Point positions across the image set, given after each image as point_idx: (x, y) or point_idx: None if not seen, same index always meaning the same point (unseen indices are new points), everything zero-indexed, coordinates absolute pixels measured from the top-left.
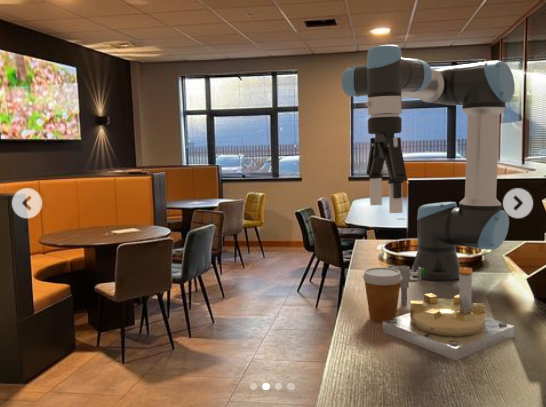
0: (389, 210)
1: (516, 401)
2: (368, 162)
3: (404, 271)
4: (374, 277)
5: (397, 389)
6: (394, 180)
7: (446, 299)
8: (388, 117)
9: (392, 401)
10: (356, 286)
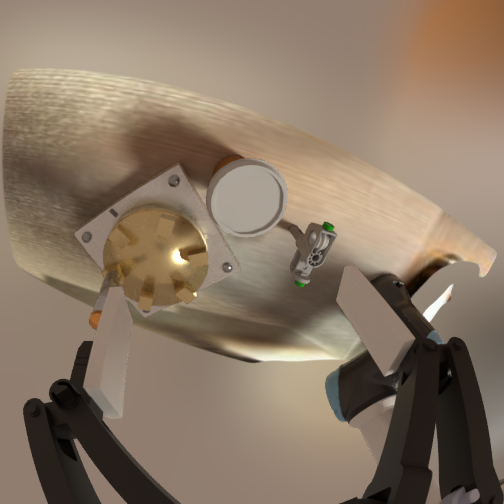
0: (119, 292)
1: (12, 248)
2: (474, 388)
3: (305, 254)
4: (221, 176)
5: (20, 146)
6: (39, 402)
7: (200, 277)
8: None
9: (3, 138)
10: (386, 187)
